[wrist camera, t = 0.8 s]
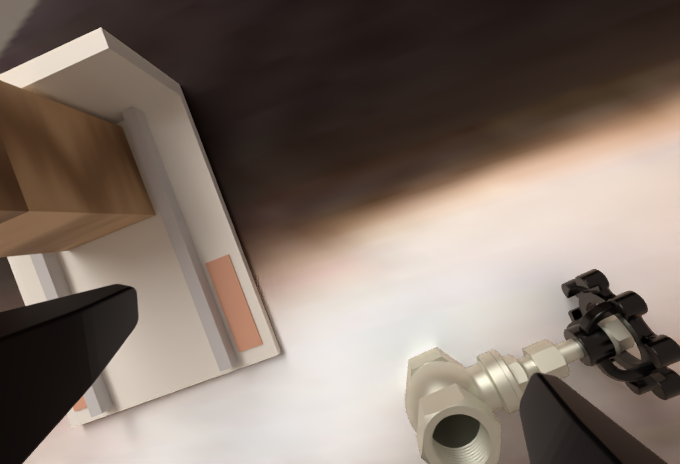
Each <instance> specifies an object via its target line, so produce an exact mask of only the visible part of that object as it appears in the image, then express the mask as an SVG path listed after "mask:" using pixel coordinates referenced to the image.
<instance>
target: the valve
mask: <svg viewBox="0 0 680 464" xmlns="http://www.w3.org/2000/svg"><path fill="white" fill-rule="evenodd" d="M561 287H562V290H563V292H564V294H565V296H566V297H567V298H570V297H572V296H574V295H576V296H577V297H578V298H579V307H577V308H575V309H573V310H571V311H569V312H568V314H569V316H570V318H571V320H572V322H571V323H570V324H569V325H568V326H567V329H565V330H564V337H565V339H566V341H564V342H562V343H559V344H557V345H554V344H553V343H551V342H550V341H548V340H545V339H544V340H541V341H539V342H537V343H534V344H532V345H530V346H527V347H525V348H523V349H522V350H523V353H524V357H522V358H520V359H516V358H515V357H513V356H512V355H510V354H509V355H506V356H504V357H501V356H500V354H499V353H498V352H497V351H496V350H494V349H492V350H490V351H488V352H486V353H483V354H481V355H479V356H477V361H478V363H477V364H475V365H473V366H470V367H468V368H464V367H463V365H461V364H460V363H459V362H457V361H456V360H454V359H453V358H451V357H450V356H449V355H447V354H446V353H444V352H443V351H441V350H440V349H438V348H437V347H436V348H433V349H431V350H429V351H426V352H424V353H422V354H420V355H417V356H415V357H413V358H411V359H409V360H408V370H407V382H406V393H405V408H406V413H407V416H408V419H409V421H410V423H411V425H412V427H413V429H414V430H415V432H416V433H417V436H416V437H417V442H418V446H419V451H420V455H421V458H422V459H423V460H424V461H426V462H427V463H428V464H498V461H499V455H500V447H501V424H500V422H499V421H498V419H497V417H496V416H495V414H494V413H493V412H494V411H496V410H499V409H501V408H503V409H504V410H505V411H506V412H507V413H508V414H510V413H512V412H514V411H517V410H519V405H520V400H521V398H522V395H523V393H524V391H525V388H526V386H527V384H528V382H529V379H530V377H531V375H532V374H533V373H535V372H540V373H545V374H550V375H554V376H557V377H558V378H559V379H561V378H563V377H565V376H568V375H569V368H568V365H567V364H569V363H571V362H573V361H576V360H578V359H579V360H580V361H581V362H582V363H584V364H585V365H587V366H594V365H596V364H597V366H598V367H599V368H600V369H601V371H602V372H603V373H605V374H606V375H607V376H609V377H610V378H612V379H615V380H617V381H621V382H625V383H626V385H627V386H628V387H629V388H630V389H631V390H632V391H633V392H634V393H636V394H638V395H641V394H644V393H646V392H649V391H651V390H652V392H653V393H654V394H655V395H656V396H658V397H659V398H661V399H663V400H668V399H670V398H673V397H675V396H678V395H680V376H679V375H678V374H677V373H676V372H675V371H673V370H672V369H670V368H668V367H667V366H668V365H671V364H673V363H676V362H678V361H680V346H679V345H678V344H677V343H676V342H675V341H674V340H673V339H671V338H670V337H668V336H666V335H659V336H658V335H656V334H655V333H654V332H653V331H652V330H651V329H650V328H649V327H648V325H647V324H646V323H645V321H644V320H643V318H642V315H643V314H645V313H647V311H648V307H647V305H646V303H645V301H644V300H643V299H642V298H641V297H640V296H639V295H638V294H637V293H635V292H633V291H626V292H624V293H621V294H619V295H617V296H616V295H615V294H613V293H612V292H611V291H610V289H609V282H608V280H607V278H606V277H605V275H604V274H603V273H602V272H600V271H599V270H597V269H592V270H590V271H588V272H586V273H583V274H581V275H579V276H577V277H576V278H575V279H573V280H570V281H568V282H566V283H563V284H562V286H561ZM596 303H597V304H598V305H596ZM614 315H615V316H614ZM634 340H635V342H636V344H637V346H638V349H639V351H640V354H641V360H640V359H638V358H636V357H634V356H633V355H631V354H630V353H628V352H627V351H626V350H627V349H629V348H632V347H633V345H634ZM614 361H616V362H617V363H618V364H620V365H621V366H622V367H623V368H625V369H626V370H621V369H618V368H617V367H616V366H615V365H614V364H613V363H612V362H614Z"/></svg>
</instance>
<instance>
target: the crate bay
mask: <svg viewBox="0 0 680 464" xmlns="http://www.w3.org/2000/svg"><path fill="white" fill-rule="evenodd" d="M0 80H1V81H4V82H6V83H9V84H11V85H14V86H17V87H19V88H22V89H24V90H27V91H30V92H32V93H35V94H37V95H40V96H43V97H45V98H48V99H51V100H53V101H56V102H58V103H61V104H64V105H66V106H69V107H71V108H74V109H77V110H79V111H82V112H84V113H87V114H90V115H92V116H95V117H97V118H100V119H103V120H105V121H108V122H110V123H113V124H116V125H118V126H121V127H122V128H123V130H124V133H125V136H126V138H127V141H128V143H129V146H130V149H131V151H132V154H133V157H134V159H135V162H136V165H137V167H138V170H139V172H140V175H141V178H142V180H143V183H144V186H145V188H146V191H147V193H148V196H149V199H150V201H151V204H152V207H153V209H154V212H155V216H152V217H150V218H147V219H145V220H143V221H140V222H138V223H135V224H133V225H130V226H128V227H125V228H123V229H120V230H118V231H115V232H113V233H111V234H108V235H106V236H103V237H101V238H98V239H96V240H93V241H91V242H88V243H86V244H83V245H81V246H79V247H76V248H74V249H71V250H69V251H62V252H51V253H41V254H31V255H20V256H10V257H7V258H8V261H9V263H10V266H11V269H12V271H13V274H14V276H15V279H16V282H17V284H18V287H19V290H20V292H21V295H22V298H23V300H24V303H25V306H28V305H32V304H36V303H40V302H44V301H48V300H52V299H56V298H60V297H64V296H68V295H72V294H76V293H80V292H84V291H88V290H92V289H97V288H101V287H105V286H109V285H113V284H122V285H127V286H131V287H134V288H135V289H136V291H137V299H138V314H139V318H138V323H137V325H136V327H135V329H134V330H133V331H132V333H131V334H130V335H129V337H128V338H127V339H126V341H125V342H124V343H123V345H122V346H121V347H120V349H119V350H118V351H117V353H116V354H115V356H114V357H113V358H112V360H111V361H110V362H109V364H108V365H107V366H106V368H105V369H104V370H103V372H102V373H101V374H100V376H99V377H98V378H97V379H96V381H95V382H94V383H93V385H92V386H91V387H90V388H89V389H88V390H87V392H86V393H85V394H84V395H83V396H82V397H81V399H80V400H79V401H78V402H77V403H76V404H75V405H74V406H73V407H72V409H71V410H70V411H69V412H68V413H67V416H68V419H69V422H70V424H71V427H72V428H74V427H77V426H79V425H82V424H85V423H88V422H91V421H94V420H96V419H99V418H102V417H105V416H108V415H110V414H113V413H116V412H119V411H122V410H125V409H127V408H130V407H133V406H136V405H139V404H141V403H144V402H147V401H150V400H153V399H156V398H158V397H161V396H164V395H167V394H170V393H173V392H175V391H178V390H181V389H184V388H187V387H189V386H192V385H195V384H198V383H201V382H204V381H206V380H209V379H212V378H215V377H218V376H221V375H223V374H226V373H229V372H232V371H235V370H237V369H240V368H243V367H246V366H249V365H252V364H254V363H257V362H260V361H263V360H266V359H268V358H271V357H274V356H277V355H279V354H280V352H281V350H280V347H279V345H278V342H277V339H276V337H275V334H274V331H273V329H272V326H271V323H270V321H269V318H268V316H267V313H266V310H265V308H264V305H263V302H262V300H261V297H260V295H259V292H258V289H257V287H256V284H255V281H254V279H253V276H252V274H251V271H250V268H249V266H248V263H247V260H246V258H245V255H244V253H243V250H242V247H241V245H240V242H239V239H238V237H237V234H236V232H235V229H234V226H233V224H232V221H231V218H230V216H229V213H228V211H227V208H226V205H225V203H224V200H223V197H222V195H221V192H220V189H219V187H218V184H217V182H216V179H215V176H214V174H213V171H212V168H211V166H210V163H209V161H208V158H207V155H206V153H205V150H204V147H203V145H202V142H201V140H200V137H199V134H198V132H197V129H196V126H195V124H194V121H193V119H192V116H191V113H190V111H189V108H188V105H187V103H186V100H185V98H184V95H183V92H182V90H181V87H180V84H178V83H177V82H175V81H174V80H173V79H171V78H170V77H169V76H167V75H166V74H164V73H163V72H162V71H160V70H159V69H158V68H156V67H155V66H153V65H152V64H151V63H149V62H148V61H147V60H145V59H144V58H142V57H141V56H140V55H138V54H137V53H136V52H134V51H133V50H131V49H130V48H129V47H127V46H126V45H124V44H123V43H122V42H120V41H119V40H118V39H116V38H115V37H113V36H112V35H111V34H109V33H108V32H107V31H105V30H104V29H102V28H99V29H97V30H94V31H92V32H90V33H88V34H86V35H84V36H82V37H79V38H77V39H75V40H73V41H71V42H69V43H67V44H64V45H62V46H60V47H58V48H56V49H54V50H52V51H49V52H47V53H45V54H43V55H41V56H39V57H37V58H34V59H32V60H30V61H28V62H26V63H24V64H22V65H19V66H17V67H15V68H13V69H11V70H9V71H7V72H5V73H2V74H0Z"/></svg>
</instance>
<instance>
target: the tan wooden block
mask: <svg viewBox="0 0 680 464" xmlns="http://www.w3.org/2000/svg"><path fill="white" fill-rule="evenodd" d="M152 216H155V212H154V209H153V207H152V204H151V201H150V199H149V196H148V193H147V191H146V188H145V186H144V183H143V180H142V178H141V175H140V172H139V170H138V167H137V165H136V162H135V159H134V157H133V154H132V151H131V149H130V146H129V143H128V141H127V138H126V136H125V133H124V130H123V128H122V127H121V126H118V125H116V124H113V123H110V122H108V121H105V120H103V119H100V118H97V117H95V116H92V115H90V114H87V113H84V112H82V111H79V110H77V109H74V108H71V107H69V106H66V105H64V104H61V103H58V102H56V101H53V100H51V99H48V98H45V97H43V96H40V95H37V94H35V93H32V92H30V91H27V90H24V89H22V88H19V87H17V86H14V85H11V84H9V83H6V82H4V81H1V80H0V257H10V256H20V255H31V254H41V253H51V252H62V251H69V250H71V249H74V248H76V247H79V246H81V245H83V244H86V243H88V242H91V241H93V240H96V239H98V238H101V237H103V236H106V235H108V234H111V233H113V232H115V231H118V230H120V229H123V228H125V227H128V226H130V225H133V224H135V223H138V222H140V221H143V220H145V219H147V218H150V217H152Z"/></svg>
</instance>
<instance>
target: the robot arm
mask: <svg viewBox="0 0 680 464" xmlns="http://www.w3.org/2000/svg"><path fill="white" fill-rule="evenodd" d="M138 318H139V314H138V299H137V291H136V289H135V288H134V287H131V286H127V285H122V284H113V285H109V286H105V287H101V288H97V289H92V290H88V291H84V292H80V293H76V294H72V295H68V296H64V297H60V298H56V299H52V300H48V301H44V302H40V303H36V304H32V305H28V306H24V307H20V308H16V309H12V310H8V311H4V312H0V464H22V463H23V462H24V461H25V460H26V459H27V458H28V457H29V456H30V455H31V453H32V452H33V451H34V450H35V449H36V448H37V447H38V446H39V444H40V443H41V442H42V441H43V440H44V439H45V438H46V437H47V435H48V434H49V433H50V432H51V431H52V430H53V429H54V428H55V427H56V425H57V424H58V423H59V422H60V421H61V420H62V419H63V418H64V416H65V415H66V414H67V413H68V412H69V411H70V410H71V409H72V407H73V406H74V405H75V404H76V403H77V402H78V401H79V400H80V399H81V397H82V396H83V395H84V394H85V393H86V392H87V390H88V389H89V388H90V387H91V386H92V385H93V383H94V382H95V381H96V379H97V378H98V377H99V376H100V374H101V373H102V372H103V370H104V369H105V368H106V366H107V365H108V364H109V362H110V361H111V360H112V358H113V357H114V356H115V354H116V353H117V351H118V350H119V349H120V347H121V346H122V345H123V343H124V342H125V341H126V339H127V338H128V337H129V335H130V334H131V333H132V331H133V330H134V329H135V327H136V325H137V323H138ZM519 411H520V416H521V421H522V426H523V431H524V436H525V440H526V445H527V450H528V455H529V460H530V464H668V463H666V462H665V461H664V460H663V459H661V458H660V457H659V456H657V455H656V454H655V453H654V452H652V451H651V450H650V449H649V448H647V447H646V446H645V445H643V444H642V443H641V442H640V441H638V440H637V439H636V438H635V437H633V436H632V435H631V434H629V433H628V432H627V431H626V430H624V429H623V428H622V427H621V426H619V425H618V424H617V423H615V422H614V421H613V420H612V419H610V418H609V417H608V416H607V415H605V414H604V413H603V412H601V411H600V410H599V409H598V408H596V407H595V406H594V405H593V404H591V403H590V402H589V401H587V400H586V399H585V398H584V397H582V396H581V395H580V394H578V393H577V392H576V391H575V390H573V389H572V388H571V387H570V386H568V385H567V384H566V383H564V382H563V381H562V380H561V379H559V378H558V377H557V376H554V375H550V374H545V373H540V372H535V373H533V374H532V375H531V377H530V379H529V382H528V384H527V386H526V388H525V391H524V393H523V395H522V398H521V400H520V405H519Z"/></svg>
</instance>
